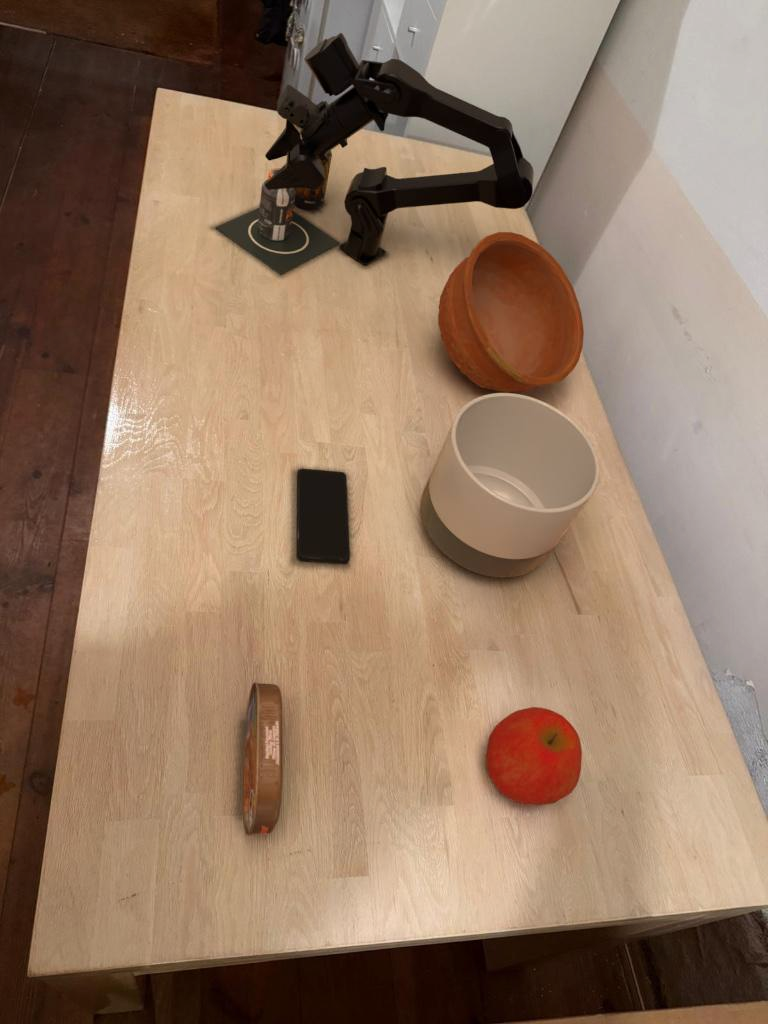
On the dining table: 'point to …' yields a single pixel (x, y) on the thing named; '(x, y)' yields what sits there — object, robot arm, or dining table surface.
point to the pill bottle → (276, 211)
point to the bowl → (511, 316)
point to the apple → (534, 756)
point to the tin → (263, 759)
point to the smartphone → (322, 516)
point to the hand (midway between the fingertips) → (266, 172)
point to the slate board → (283, 253)
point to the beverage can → (313, 198)
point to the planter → (508, 484)
